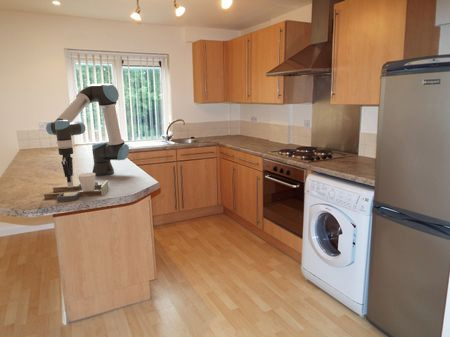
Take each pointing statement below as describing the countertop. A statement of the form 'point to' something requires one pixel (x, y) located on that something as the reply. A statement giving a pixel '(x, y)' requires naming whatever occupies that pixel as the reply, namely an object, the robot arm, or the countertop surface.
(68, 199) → the trap bays
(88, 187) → the cup
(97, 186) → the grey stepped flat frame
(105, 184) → the stop block
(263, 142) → the countertop surface
